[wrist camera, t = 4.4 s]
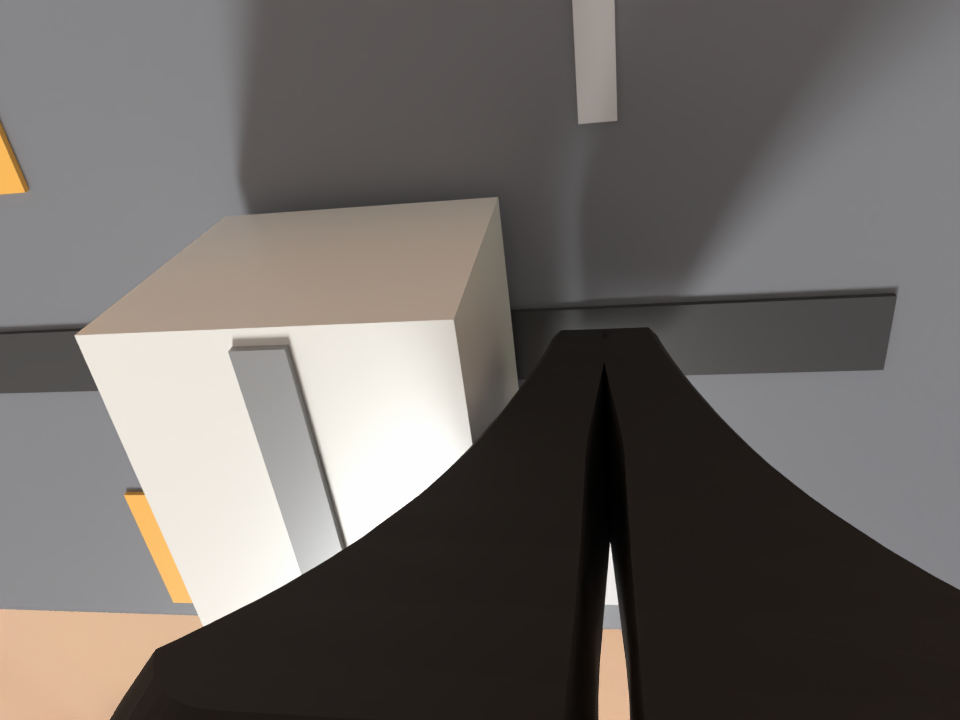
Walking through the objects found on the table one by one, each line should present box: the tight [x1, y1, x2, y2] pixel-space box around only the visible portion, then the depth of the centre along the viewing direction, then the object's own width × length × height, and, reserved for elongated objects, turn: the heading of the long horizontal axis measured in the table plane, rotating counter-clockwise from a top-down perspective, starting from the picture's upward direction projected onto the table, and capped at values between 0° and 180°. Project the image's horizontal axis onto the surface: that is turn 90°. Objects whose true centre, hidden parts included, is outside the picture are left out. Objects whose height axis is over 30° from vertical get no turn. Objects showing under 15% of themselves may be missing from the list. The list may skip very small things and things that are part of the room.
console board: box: [0, 0, 960, 629], centre depth 13 cm, size 20×13×2 cm, turn 97°
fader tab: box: [74, 197, 519, 627], centre depth 10 cm, size 4×5×4 cm
